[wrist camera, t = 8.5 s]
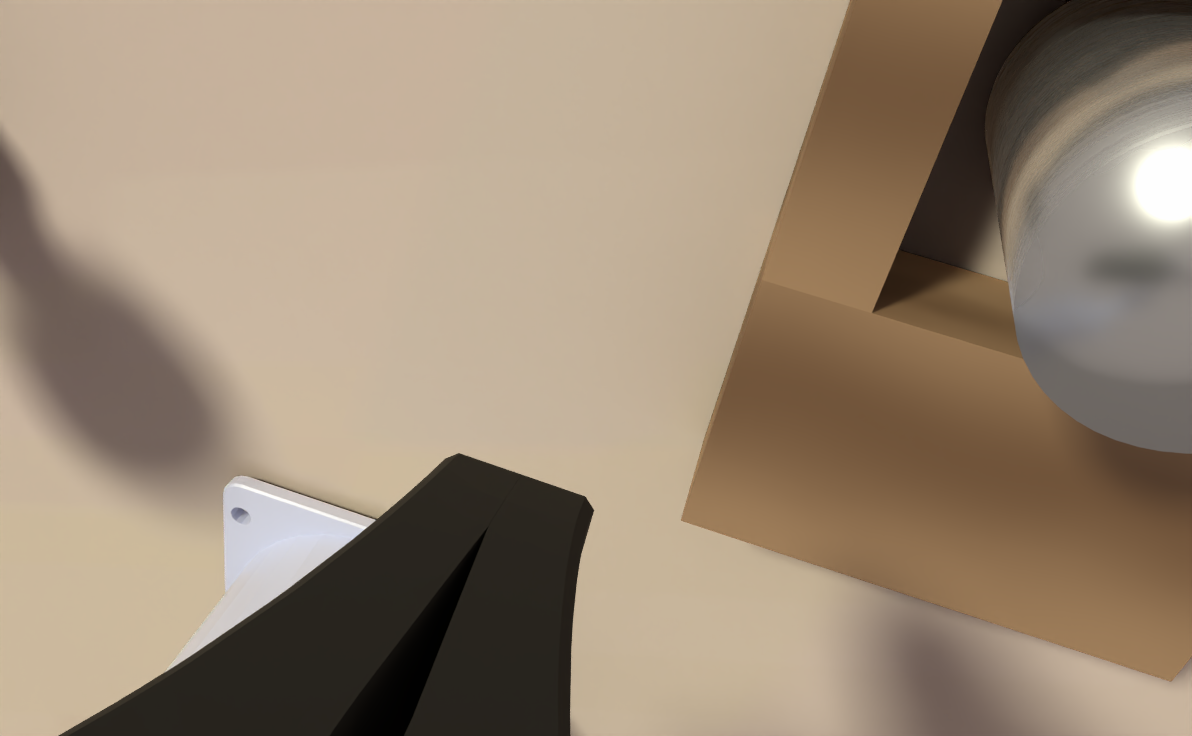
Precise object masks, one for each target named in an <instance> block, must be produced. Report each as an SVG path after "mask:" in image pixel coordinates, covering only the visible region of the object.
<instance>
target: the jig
mask: <svg viewBox="0 0 1192 736" xmlns="http://www.w3.org/2000/svg"><path fill="white" fill-rule="evenodd" d="M1001 3H1002V0H850V3H849V6H848V9H847V12H846V15H845V18H844V21H843V24H842V27H841V30H840V33H839V36H838V39H837V42H836V45H835V48H834V51H833V54H832V57H831V60H830V63H829V66H828V69H827V72H826V75H825V78H824V81H823V84H822V87H821V90H820V93H819V96H818V99H817V102H816V105H815V108H814V111H813V114H812V117H811V120H810V123H809V126H808V129H807V132H806V135H805V138H804V141H803V144H802V147H801V150H800V153H799V156H798V159H797V162H796V165H795V168H794V171H793V174H792V177H791V180H790V183H789V186H788V189H787V192H786V195H785V198H784V201H783V204H782V207H781V210H780V213H779V216H778V219H777V222H776V225H775V228H774V231H773V234H772V237H771V240H770V243H769V246H768V249H767V252H766V255H765V258H764V261H763V264H762V267H761V270H760V273H759V276H758V279H757V282H756V285H755V288H754V291H753V294H752V297H751V300H750V303H749V306H748V309H747V312H746V315H745V318H744V321H743V324H742V327H741V330H740V333H739V336H738V339H737V342H736V345H735V348H734V351H733V354H732V357H731V360H730V363H729V366H728V369H727V372H726V375H725V378H724V381H723V384H722V387H721V390H720V393H719V396H718V399H717V402H716V405H715V408H714V411H713V414H712V417H711V420H710V423H709V426H708V429H707V432H706V435H705V438H704V441H703V445H702V448H701V452H700V455H699V459H698V462H697V466H696V469H695V473H694V476H693V480H692V483H691V487H690V490H689V494H688V497H687V501H686V504H685V508H684V511H683V515H682V518H681V521H684V522H687V523H690V524H693V525H696V526H699V527H702V528H705V529H708V530H711V531H714V532H717V533H720V534H723V535H726V536H729V537H732V538H736V539H739V540H742V541H745V542H748V543H751V544H754V545H757V546H760V547H763V548H766V549H769V550H772V551H775V552H778V553H781V554H784V555H787V556H790V557H793V558H796V559H799V560H802V561H806V562H809V563H812V564H815V565H818V566H821V567H824V568H827V569H830V570H833V571H836V572H839V573H842V574H845V575H848V576H851V577H854V578H857V579H860V580H863V581H866V582H869V583H872V584H875V585H879V586H882V587H885V588H888V589H891V590H894V591H897V592H900V593H903V594H906V595H909V596H912V597H915V598H918V599H921V600H924V601H927V602H930V603H933V604H936V605H939V606H942V607H945V608H948V609H952V610H955V611H958V612H961V613H964V614H967V615H970V616H973V617H976V618H979V619H982V620H985V621H988V622H991V623H994V624H997V625H1000V626H1003V627H1006V628H1009V629H1012V630H1015V631H1018V632H1022V633H1025V634H1028V635H1031V636H1034V637H1037V638H1040V639H1043V640H1046V641H1049V642H1052V643H1055V644H1058V645H1061V646H1064V647H1067V648H1070V649H1073V650H1076V651H1079V652H1082V653H1085V654H1088V655H1091V656H1095V657H1098V658H1101V659H1104V660H1107V661H1110V662H1113V663H1116V664H1119V665H1122V666H1125V667H1128V668H1131V669H1134V670H1137V671H1140V672H1143V673H1146V674H1149V675H1152V676H1155V677H1158V678H1161V679H1164V680H1168V681H1172V680H1173V679H1174V677H1175V676H1176V675H1177V674H1178V673H1179V671H1180V670H1181V669H1182V668H1183V667H1184V665H1185V664H1186V663H1187V662H1188V660H1189V659H1190V658H1191V657H1192V454H1185V453H1174V452H1163V451H1157V450H1152V449H1146V448H1141V447H1137V446H1133V445H1130V444H1127V443H1123V442H1120V441H1117V440H1114V439H1112V438H1109V437H1107V436H1105V435H1102V434H1100V433H1098V432H1095V431H1093V430H1092V429H1090V428H1088V427H1086V426H1085V425H1083V424H1081V423H1079V422H1078V421H1076V420H1075V419H1073V418H1072V417H1071V416H1069V415H1068V414H1067V413H1065V412H1064V411H1063V410H1061V409H1060V408H1059V407H1058V406H1057V405H1056V404H1055V403H1054V402H1053V401H1052V400H1051V399H1050V398H1049V397H1048V396H1047V395H1046V394H1045V393H1044V392H1043V390H1042V389H1041V388H1040V386H1039V385H1038V384H1037V382H1036V381H1035V379H1034V378H1033V377H1032V375H1031V373H1030V371H1029V369H1028V367H1027V365H1026V363H1025V361H1024V359H1023V356H1022V353H1021V350H1020V347H1019V344H1018V341H1017V336H1016V330H1015V323H1014V317H1013V311H1012V304H1011V298H1010V292H1009V285H1008V282H1006V281H1002V280H999V279H996V278H992V277H989V276H985V275H982V274H979V273H975V272H972V271H968V270H965V269H962V268H958V267H955V266H952V265H948V264H945V263H941V262H938V261H935V260H931V259H928V258H924V257H921V256H918V255H914V254H911V253H908V252H904V251H901V250H898V249H899V247H900V244H901V242H902V240H903V237H904V235H905V232H906V230H907V228H908V225H909V223H910V220H911V218H912V216H913V213H914V211H915V208H916V206H917V204H918V201H919V199H920V197H921V194H922V192H923V189H924V187H925V185H926V182H927V180H928V177H929V175H930V173H931V170H932V168H933V165H934V163H935V161H936V158H937V156H938V153H939V151H940V149H941V146H942V144H943V141H944V139H945V137H946V134H947V132H948V130H949V127H950V125H951V122H952V120H953V118H954V115H955V113H956V110H957V108H958V106H959V103H960V101H961V98H962V96H963V94H964V91H965V89H966V86H967V84H968V82H969V79H970V77H971V74H972V72H973V70H974V67H975V65H976V62H977V60H978V58H979V55H980V53H981V51H982V48H983V46H984V43H985V41H986V39H987V36H988V34H989V31H990V29H991V27H992V24H993V22H994V19H995V17H996V15H997V12H998V10H999V7H1000V5H1001Z"/></svg>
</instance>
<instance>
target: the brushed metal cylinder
mask: <svg viewBox="0 0 1192 736" xmlns="http://www.w3.org/2000/svg"><path fill="white" fill-rule="evenodd" d="M985 139H986V146H987V152H988V158H989V165H990V171H991V177H992V184H993V190H994V196H995V203H996V209H997V215H998V222H999V228H1000V234H1001V241H1002V247H1003V253H1004V260H1005V266H1006V272H1007V279H1008V285H1009V292H1010V298H1011V304H1012V311H1013V317H1014V323H1015V330H1016V336H1017V341H1018V344H1019V347H1020V350H1021V353H1022V356H1023V359H1024V361H1025V363H1026V365H1027V367H1028V369H1029V371H1030V373H1031V375H1032V377H1033V378H1034V379H1035V381H1036V382H1037V384H1038V385H1039V386H1040V388H1041V389H1042V390H1043V392H1044V393H1045V394H1046V395H1047V396H1048V397H1049V398H1050V399H1051V400H1052V401H1053V402H1054V403H1055V404H1056V405H1057V406H1058V407H1059V408H1060V409H1061V410H1063V411H1064V412H1065V413H1067V414H1068V415H1069V416H1071V417H1072V418H1073V419H1075V420H1076V421H1078V422H1079V423H1081V424H1083V425H1085V426H1086V427H1088V428H1090V429H1092V430H1093V431H1095V432H1098V433H1100V434H1102V435H1105V436H1107V437H1109V438H1112V439H1114V440H1117V441H1120V442H1123V443H1127V444H1130V445H1133V446H1137V447H1141V448H1146V449H1152V450H1157V451H1163V452H1174V453H1185V454H1192V0H1072V1H1070V2H1068V3H1066V4H1064V5H1063V6H1061V7H1060V8H1058V9H1057V10H1055V11H1054V12H1052V13H1051V14H1049V15H1048V16H1046V17H1045V18H1044V19H1043V20H1042V21H1040V22H1039V23H1038V24H1037V25H1036V26H1034V27H1033V28H1032V29H1031V30H1030V31H1029V32H1028V33H1027V34H1026V35H1025V36H1024V37H1023V39H1022V40H1021V41H1020V42H1019V43H1018V44H1017V46H1016V47H1015V48H1014V50H1013V51H1012V52H1011V53H1010V55H1009V56H1008V58H1007V59H1006V61H1005V63H1004V64H1003V66H1002V68H1001V70H1000V71H999V73H998V76H997V78H996V80H995V83H994V85H993V87H992V90H991V94H990V97H989V101H988V104H987V111H986V118H985Z"/></svg>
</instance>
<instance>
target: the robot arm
mask: <svg viewBox="0 0 1192 736" xmlns="http://www.w3.org/2000/svg"><path fill="white" fill-rule="evenodd" d="M246 511H247V512H246ZM593 512H594V509H593V508H592V506H591V505H590V503H589V502H588V500H587V498H586V497H585V496H582V495H579V494H576V493H573V492H570V491H568V490H565V489H562V488H559V487H556V486H553V485H550V484H547V483H544V482H541V481H538V480H535V479H533V478H530V477H527V476H524V475H521V474H518V473H515V472H512V471H509V470H506V469H503V468H500V467H498V466H495V465H492V464H489V463H486V462H483V461H480V460H477V459H474V458H471V457H468V456H465V455H462V454H460V453H458V454H456V455H453V456H451V457H448V458H446V459H445V460H444V461H442V462H441V463H440V464H439V465H438V466H437V467H436V468H435V469H434V470H433V471H432V472H431V473H430V474H429V475H428V476H427V477H425V478H424V479H423V480H422V481H421V482H420V483H419V484H418V485H417V486H415V487H414V488H413V489H412V490H411V491H410V492H409V493H408V494H406V495H405V496H404V497H403V498H402V499H401V500H399V501H398V502H397V503H396V504H395V505H394V506H392V507H391V508H390V509H389V510H388V511H387V512H385V513H384V514H383V515H382V516H381V517H379V518H378V519H377V520H375V519H372V518H369V517H366V516H363V515H360V514H357V513H354V512H351V511H348V510H345V509H342V508H339V507H336V506H333V505H330V504H328V503H325V502H322V501H319V500H316V499H313V498H310V497H307V496H304V495H301V494H298V493H295V492H292V491H289V490H286V489H283V488H280V487H277V486H274V485H271V484H269V483H266V482H263V481H260V480H257V479H254V478H251V477H247V476H236V477H234V478H233V479H232V480H231V481H230V482H229V483H228V484H227V485H226V487H225V488H224V491H223V518H224V564H225V594H224V596H223V597H222V598H221V599H220V601H219V602H218V603H217V605H216V606H215V607H214V609H213V610H212V611H211V612H210V614H209V615H208V616H207V618H206V619H205V620H204V622H203V623H202V624H201V625H200V627H199V628H198V629H197V631H196V632H195V633H194V635H193V636H192V637H191V638H190V640H189V641H188V642H187V644H186V645H185V646H184V647H183V649H182V650H181V651H180V653H179V654H178V655H177V657H176V658H175V659H174V660H173V662H172V663H171V664H170V666H169V667H168V668H167V670H166V671H165V672H164V673H163V674H161V675H160V676H158V677H157V678H155V679H153V680H152V681H150V682H149V683H147V684H145V685H144V686H142V687H141V688H139V689H137V690H136V691H134V692H132V693H131V694H129V695H127V696H126V697H124V698H122V699H121V700H119V701H118V702H116V703H114V704H112V705H111V706H109V707H107V708H106V709H104V710H102V711H100V712H99V713H97V714H95V715H93V716H92V717H90V718H88V719H87V720H85V721H83V722H81V723H80V724H78V725H76V726H74V727H73V728H71V729H69V730H68V731H66V732H64V733H62V734H61V735H59V736H570V685H571V643H572V626H573V613H574V603H575V594H576V584H577V577H578V570H579V563H580V558H581V553H582V550H583V546H584V543H585V539H586V536H587V532H588V529H589V526H590V522H591V519H592V515H593Z"/></svg>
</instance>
